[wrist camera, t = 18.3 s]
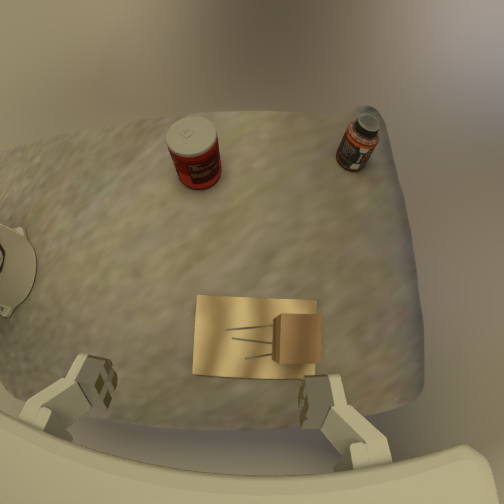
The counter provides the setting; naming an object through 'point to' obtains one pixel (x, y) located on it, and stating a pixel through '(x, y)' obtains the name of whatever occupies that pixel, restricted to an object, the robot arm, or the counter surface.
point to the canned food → (195, 151)
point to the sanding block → (297, 338)
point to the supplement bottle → (358, 142)
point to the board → (243, 337)
